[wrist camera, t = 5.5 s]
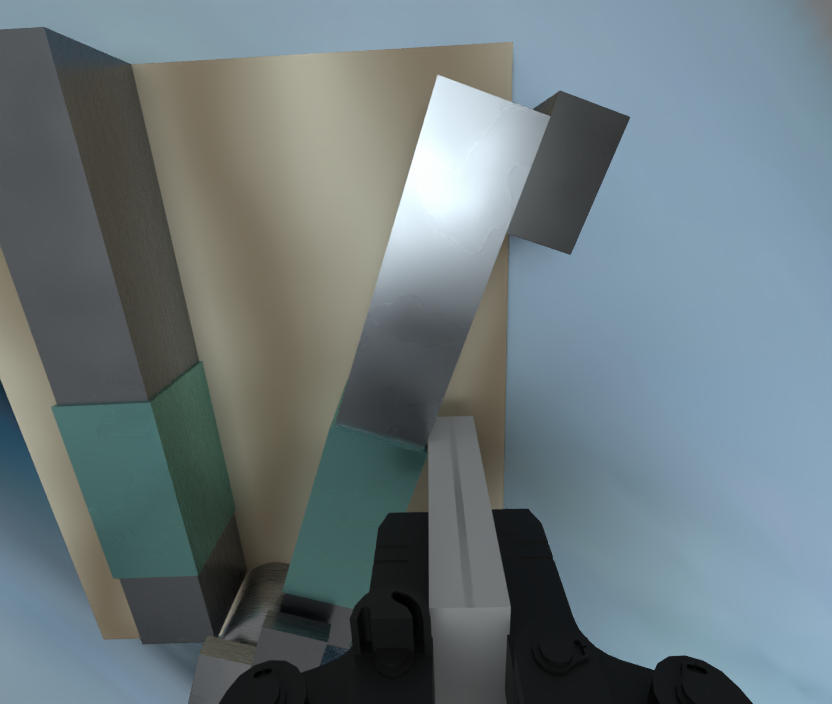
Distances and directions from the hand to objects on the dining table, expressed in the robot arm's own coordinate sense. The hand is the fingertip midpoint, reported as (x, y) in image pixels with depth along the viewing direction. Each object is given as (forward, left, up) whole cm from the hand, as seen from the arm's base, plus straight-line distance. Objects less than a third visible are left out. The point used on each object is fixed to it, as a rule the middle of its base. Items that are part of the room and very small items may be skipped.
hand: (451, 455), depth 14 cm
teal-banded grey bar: (-9, +2, -2) cm, 9 cm away
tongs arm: (-3, 0, -2) cm, 3 cm away
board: (-7, +1, -3) cm, 7 cm away
